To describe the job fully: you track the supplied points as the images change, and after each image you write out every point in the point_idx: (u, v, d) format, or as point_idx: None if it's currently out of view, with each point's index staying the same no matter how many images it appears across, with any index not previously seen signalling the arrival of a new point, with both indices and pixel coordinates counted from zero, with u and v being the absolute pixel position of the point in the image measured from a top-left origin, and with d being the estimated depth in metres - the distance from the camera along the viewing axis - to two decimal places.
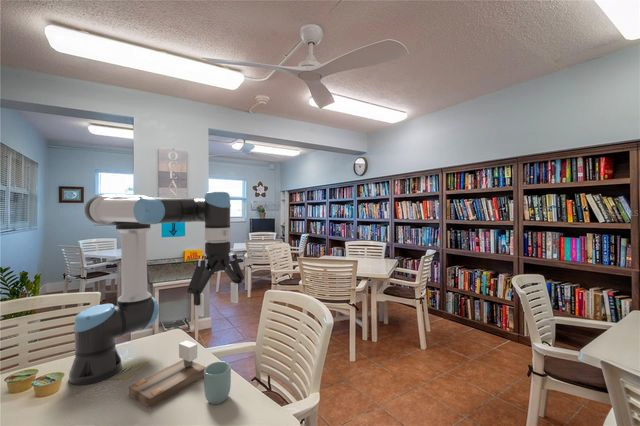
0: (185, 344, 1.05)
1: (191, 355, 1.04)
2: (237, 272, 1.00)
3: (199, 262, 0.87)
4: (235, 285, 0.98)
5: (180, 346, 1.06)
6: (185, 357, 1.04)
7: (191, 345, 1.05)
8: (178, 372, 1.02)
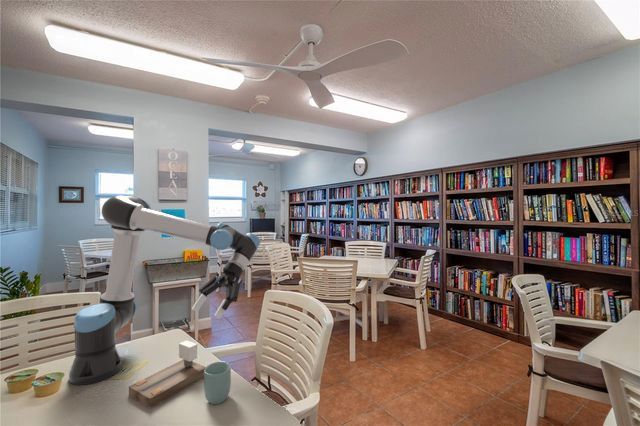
0: (185, 344, 1.05)
1: (191, 355, 1.04)
2: None
3: (239, 280, 1.16)
4: (205, 298, 1.19)
5: (180, 346, 1.06)
6: (185, 357, 1.04)
7: (191, 345, 1.05)
8: (178, 372, 1.02)
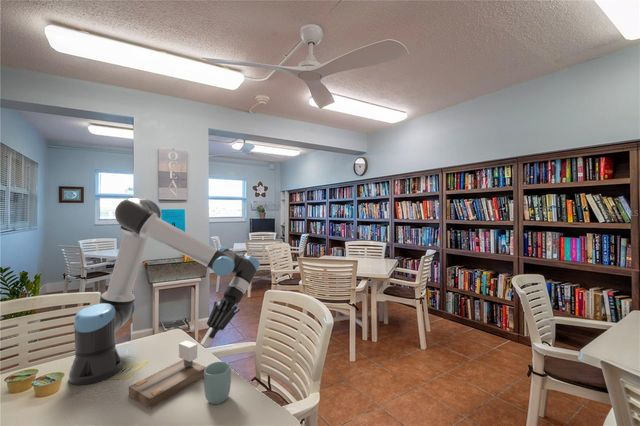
0: (185, 344, 1.05)
1: (191, 355, 1.04)
2: None
3: (236, 310, 1.17)
4: None
5: (180, 346, 1.06)
6: (185, 357, 1.04)
7: (191, 345, 1.05)
8: (178, 372, 1.02)
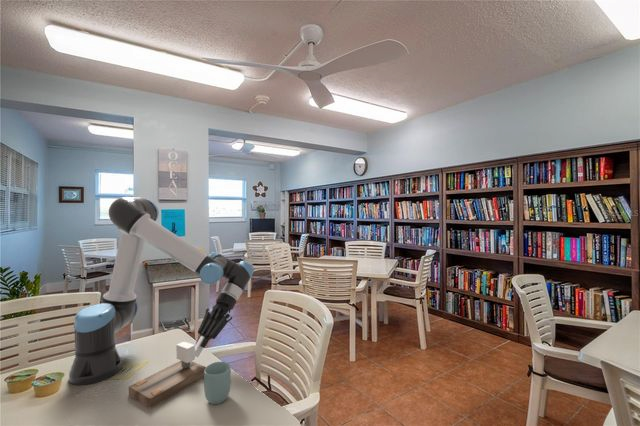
0: (183, 345, 1.04)
1: (189, 356, 1.03)
2: None
3: (229, 318, 1.13)
4: None
5: (177, 347, 1.05)
6: (182, 358, 1.03)
7: (189, 346, 1.04)
8: (178, 372, 1.02)
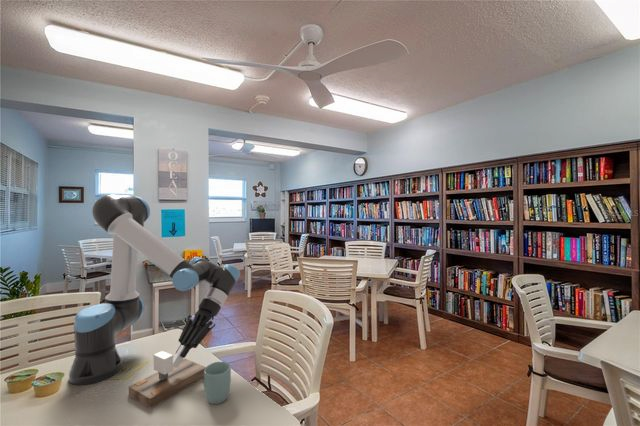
0: (160, 356, 0.97)
1: (166, 368, 0.96)
2: None
3: (211, 325, 1.06)
4: None
5: (155, 357, 0.98)
6: (160, 369, 0.96)
7: (166, 356, 0.97)
8: (178, 372, 1.02)
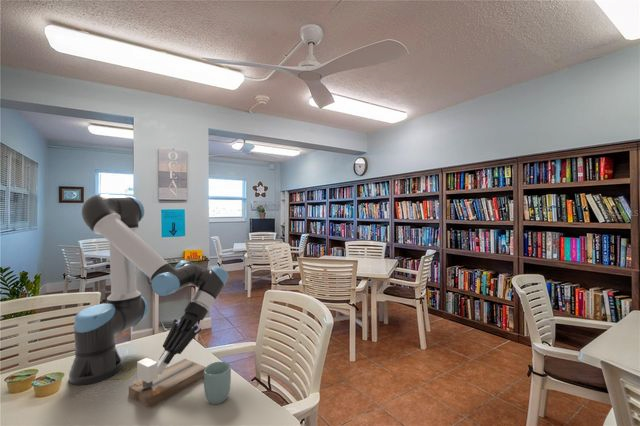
0: (144, 363, 0.93)
1: (150, 376, 0.91)
2: None
3: (197, 330, 1.02)
4: None
5: (138, 365, 0.93)
6: (143, 377, 0.92)
7: (150, 364, 0.92)
8: (178, 372, 1.02)
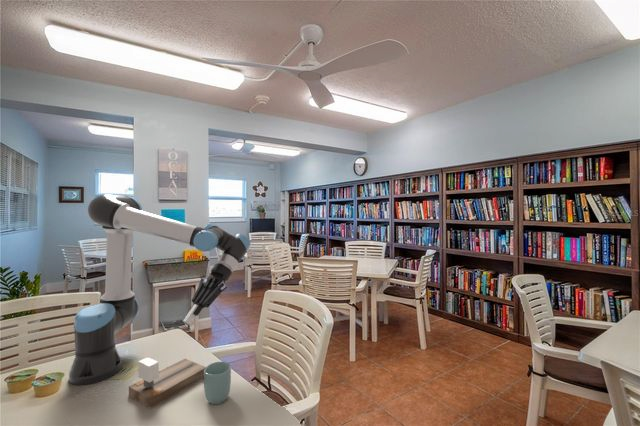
0: (145, 362, 0.93)
1: (151, 375, 0.92)
2: None
3: (223, 287, 1.11)
4: None
5: (139, 364, 0.94)
6: (144, 377, 0.92)
7: (151, 363, 0.93)
8: (178, 372, 1.02)
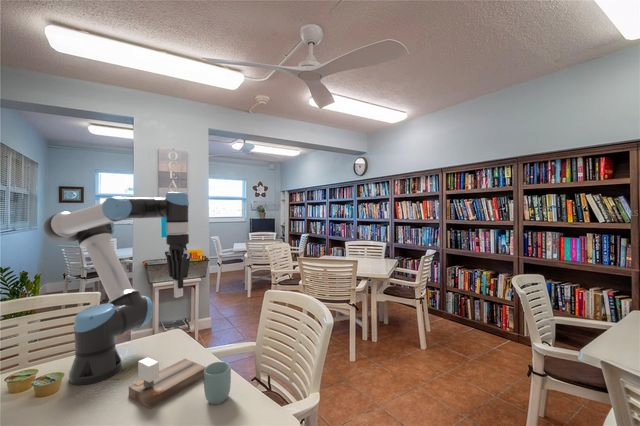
0: (145, 362, 0.93)
1: (151, 375, 0.92)
2: None
3: (188, 256, 1.08)
4: None
5: (139, 364, 0.94)
6: (144, 377, 0.92)
7: (151, 363, 0.93)
8: (178, 372, 1.02)
